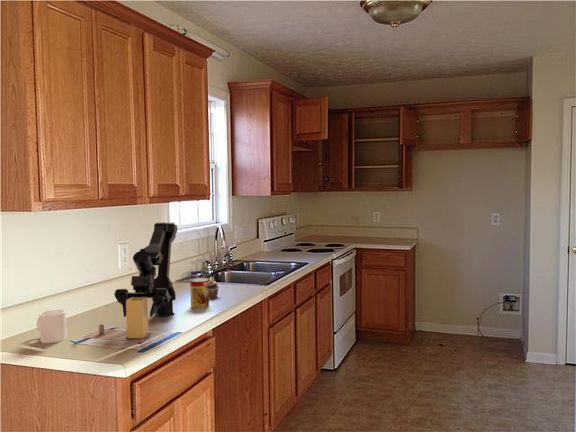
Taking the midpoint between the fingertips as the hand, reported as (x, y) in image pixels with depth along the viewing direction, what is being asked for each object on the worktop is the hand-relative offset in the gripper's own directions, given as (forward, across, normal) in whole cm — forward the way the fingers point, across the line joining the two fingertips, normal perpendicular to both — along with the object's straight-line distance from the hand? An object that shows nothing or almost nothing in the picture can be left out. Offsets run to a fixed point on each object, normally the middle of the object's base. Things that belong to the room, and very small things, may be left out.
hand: (137, 316), depth 178 cm
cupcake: (-40, +13, +52) cm, 67 cm away
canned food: (-27, +12, +39) cm, 49 cm away
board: (+4, -7, +7) cm, 11 cm away
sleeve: (+5, 0, +5) cm, 7 cm away
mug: (+7, -31, +5) cm, 32 cm away
